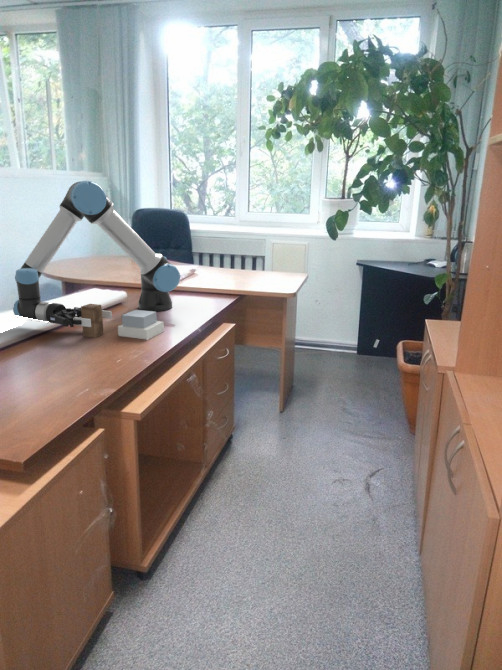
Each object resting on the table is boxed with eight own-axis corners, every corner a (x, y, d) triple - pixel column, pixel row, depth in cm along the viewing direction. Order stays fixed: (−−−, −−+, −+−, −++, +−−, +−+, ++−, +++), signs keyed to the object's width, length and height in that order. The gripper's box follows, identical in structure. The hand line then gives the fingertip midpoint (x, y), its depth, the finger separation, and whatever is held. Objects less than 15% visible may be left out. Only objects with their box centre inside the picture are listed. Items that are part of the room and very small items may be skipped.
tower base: (136, 328, 185) (136, 318, 184) (164, 331, 181) (163, 321, 180) (118, 336, 174) (117, 326, 173) (147, 340, 170) (146, 329, 169)
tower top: (135, 319, 182) (135, 309, 181) (156, 322, 179) (156, 311, 178) (122, 325, 174) (121, 315, 173) (144, 328, 171) (143, 317, 170)
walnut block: (92, 332, 177) (89, 303, 174) (103, 334, 175) (101, 304, 172) (83, 336, 173) (80, 306, 169) (95, 337, 171) (92, 307, 168)
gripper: (74, 315, 190) (121, 321, 183) (28, 330, 168) (80, 337, 161) (72, 296, 187) (119, 301, 181) (26, 310, 166) (78, 316, 159)
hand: (101, 318), depth 171 cm, fingers open, 11 cm apart
